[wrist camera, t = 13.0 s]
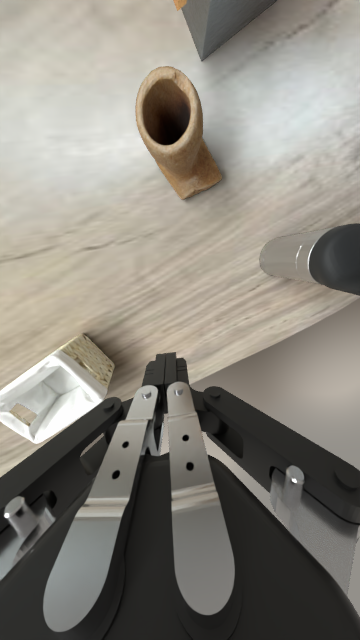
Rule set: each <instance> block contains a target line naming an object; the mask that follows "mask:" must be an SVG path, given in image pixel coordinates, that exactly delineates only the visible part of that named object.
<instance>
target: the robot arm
mask: <svg viewBox="0 0 360 640" xmlns="http://www.w3.org/2000/svg"><path fill="white" fill-rule="evenodd" d="M260 266H261V268H262V270H263V271H264V272H265V273H267V274H269V275H272V276H278V277H283V278H288V279H294V280H300V281H305V282H311V283H317V284H322V285H326V286H327V287H329V288H332V289H335V290H340V291H344V292H348V293H352V294H356V295H359V296H360V224H357V223H356V224H348V225H343V226H338V227H332V228H327V229H322V230H317V231H311V232H306V233H301V234H295V235H290V236H284V237H279V238H275V239H273V240H271V241H269V242H268V243H267V244H266V245H265V246H264V248H263V249H262V251H261V254H260ZM166 413H168V434H169V452H168V453H166V454H164V455H161V456H160V451H161V443H162V437H163V429H164V422H163V421H164V414H166ZM201 431H203V432H206V434H207V436H208V437H209V438H210V439H211V440H212V441H213V442H214V443H215V444H216V445H217V446H219V447H220V448H221V449H222V450H223V451H224V452H225V453H226V454H227V455H229V456H230V457H231V458H232V459H233V460H234V461H235V462H236V463H237V464H238V465H239V466H241V467H242V468H243V469H244V470H245V471H246V472H247V473H248V474H249V475H250V476H252V477H253V478H254V479H255V480H256V481H257V482H258V483H259V484H260V485H261V486H263V487H264V488H265V489H266V490H267V491H268V492H269V493H270V500H271V504H272V507H273V509H274V511H275V513H276V514H277V516H278V517H279V518H280V519H281V520H282V522H283V523H284V524H285V526H286V527H287V529H288V530H289V531H288V530H287V529H286V528H285V527H284V525H282V523H281V522H280V521H279V520H278V519H277V518H276V517H275V516H274V515H273V514H272V513H271V512H270V511H269V510H268V509H267V508H266V507H265V506H264V505H263V504H262V503H261V502H260V501H259V500H258V499H257V497H256V496H255V495H254V494H253V493H252V492H250V490H249V489H248V488H247V487H246V486H245V485H244V484H243V483H242V482H241V481H240V480H239V479H238V478H237V477H236V476H235V475H234V474H233V473H232V472H231V471H230V469H228V467H226V466H225V465H224V464H223V463H222V462H221V461H219V460H218V459H216V458H214V457H212V456H210V455H207V452H206V448H205V444H204V440H203V436H202V432H201ZM102 433H103V434H104V436H103V437H102V438H101V439H100V440H99V441H98V442H97V443H96V444H94V445H93V446H92V447H91V448H90V449H89V450H88V451H87V452H86V453H85V454H84V455H82V456H81V457H80V455H81V453H82V451H83V450H84V449H85V448H86V447H87V446H88V445H89V444H90V443H92V442H93V441H94V440H95V439H96V438H97V437H98V436H99V435H101V434H102ZM359 537H360V471H359V470H358V469H356V468H355V467H354V466H352V465H350V464H349V463H347V462H346V461H344V460H342V459H341V458H339V457H337V456H335V455H334V454H332V453H330V452H328V451H327V450H325V449H324V448H322V447H320V446H319V445H317V444H315V443H313V442H312V441H310V440H308V439H307V438H305V437H303V436H302V435H300V434H298V433H297V432H295V431H293V430H291V429H290V428H288V427H287V426H285V425H283V424H281V423H280V422H278V421H276V420H275V419H273V418H271V417H269V416H268V415H266V414H265V413H263V412H261V411H260V410H258V409H256V408H254V407H253V406H251V405H249V404H248V403H246V402H244V401H243V400H241V399H239V398H238V397H236V396H234V395H233V394H231V393H229V392H227V391H226V390H224V389H222V388H220V387H215V386H213V387H209V388H207V389H205V390H204V392H198V391H195V390H193V389H192V388H191V387H190V385H189V380H188V372H187V365H186V361H185V360H184V358H176V352H173V353H164V354H157V355H156V360H155V361H150V362H149V364H148V365H147V366H146V371H145V375H144V379H143V383H142V387H141V388H140V389H138V390H137V392H136V393H135V396H134V398H132V399H129V400H127V401H124V402H121V400H120V399H119V398H117V397H112V398H108V399H106V400H104V401H102V402H101V403H100V404H98V405H97V406H96V407H94V408H93V409H92V410H90V411H89V412H88V413H86V414H85V415H84V416H82V417H81V418H80V419H78V420H77V421H76V422H74V423H73V424H72V425H70V426H69V427H67V428H66V429H65V430H63V431H62V432H61V433H59V434H58V435H57V436H55V437H54V438H53V439H51V440H50V441H49V442H47V443H46V444H45V445H43V446H42V447H41V448H39V449H38V450H37V451H35V452H34V453H33V454H31V455H30V456H29V457H27V458H26V459H25V460H23V461H22V462H21V463H19V464H18V465H17V466H15V467H14V468H12V469H11V470H10V471H8V472H7V473H6V474H4V475H3V476H2V477H0V640H360V617H359V615H358V614H357V612H356V610H355V609H354V607H353V605H352V603H351V602H350V600H349V599H348V597H347V593H348V587H349V581H350V575H351V569H352V563H353V557H354V551H355V545H356V543H357V541H358V539H359Z"/></svg>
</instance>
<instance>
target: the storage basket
mask: <svg viewBox="0 0 360 640" xmlns="http://www.w3.org/2000/svg"><path fill="white" fill-rule="evenodd" d="M114 368H115V365H114V363H113V362H112V361H111V360H110V359H109V358H108V357H107V356H106V355H105V354H104V353H103V352H102V351H101V350H100V349H99V348H98V347H97V346H96V345H95V344H94V343H93V342H92V341H91V340H90V339H89V338H88V337H87V336H85V335H84V334H80V335H78V336H77V337H75V338H73V339H71V340H70V341H69V342H67V343H66V344H65V345H63V346H61V347H60V348H58V349H57V350H56V351H54V352H53V353H51V354H50V355H48V356H47V357H46V358H44V359H43V360H42V361H40V362H39V363H38V364H36V365H35V366H33V367H32V368H31V369H29V370H28V371H27V372H25V373H24V374H22V375H21V376H20V377H18V378H17V379H16V380H14V381H13V382H12V383H10V384H9V385H8V386H6V387H5V388H4V389H2V390H1V391H0V421H1V422H2V423H3V424H5V425H6V426H8V427H9V428H11V429H13V430H14V431H15V432H17V433H19V434H20V435H22V436H23V437H25V438H27V439H29V440H31V441H32V442H34V443H40V442H42V441H44V440H46V439H47V438H49V437H51V436H52V435H54V434H55V433H57V432H59V431H60V430H62V429H63V428H65V427H66V426H68V425H69V424H71V423H72V422H74V421H75V420H77V419H78V418H80V417H81V416H83V415H84V414H86V413H87V412H89V411H90V410H92V409H93V408H94V407H96V406H97V405H98V404H100V403H101V402H102V401H103V400H104V398H105V396H106V394H107V390H108V386H109V383H110V380H111V377H112V374H113V370H114ZM16 404H20V405H22V406H24V407H26V408H27V409H29V410H31V411H33V412H34V413H36V414H37V416H36V418H35V419H34V420H33V421H32V423H31V424H30V423H28V422H27V421H26V420H25V419H22V418H21V417H20V416H18V414H16V413H14V412H13V411H11V409H12V408H13V407H14V406H15V405H16Z"/></svg>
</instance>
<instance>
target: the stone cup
mask: <svg viewBox="0 0 360 640" xmlns="http://www.w3.org/2000/svg"><path fill="white" fill-rule="evenodd" d="M136 122H137V126H138V130H139V132H140V135H141V137H142V139H143V142H144V144H145V145H146V147H147V149H148V150H149V152H150V153H151V155H152V156H153V157H154V159H155V161H156V163H157V164H158V166H159V168H160V169H161V171H162V173H163V174H164V176H165V177H166V178H167V180H168V181H169V183H170V184H171V186H172V187H173V188H174V190H175V191H176V193H177V194H178V196H179V197H180V198H181V199H182V200H184V199H185V198H188V197H192V196H193V195H195V194H198V193H199V192H201V191H204V190H207V189H209V188H210V187H212V186H213V185H215V184H216V183H218V182H219V181H220V180H221V179H222V176H221V174H220V171H219V169H218V167H217V165H216V163H215V161H214V159H213V158H212V156H211V154H210V152H209V151H208V149H207V146H206V145H205V143H204V141H203V139H202V134H203V113H202V107H201V102H200V99H199V96H198V93H197V91H196V89H195V87H194V86H193V84H192V83H191V81H190V80H189V79H188V78H187V76H186V75H185V74H183V73H182V72H181V71H180V70H177V69H175V68H173V67H169V66H165V67H158V68H156V69H155V70H153V71H151V72H150V73H149V75H148V76H147V77H146V78H145V79H144V81H143V82H142V84H141V86H140V88H139V92H138V95H137V99H136Z"/></svg>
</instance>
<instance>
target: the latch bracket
mask: <svg viewBox="0 0 360 640" xmlns="http://www.w3.org/2000/svg"><path fill="white" fill-rule="evenodd" d="M276 1H277V0H187V3H186V4H185V5H184V6H183V7H182V8H181V9H182V11H183V14H184V17H185V19H186V22H187V25H188V27H189V30H190V32H191V35H192V38H193V40H194V43H195V46H196V48H197V51H198V54H199V56H200V59H201V61H202V60H204V59H205V58H206V57H207V56H209V55H210V54H211V53H212V52H214V51H215V50H216V49H217V48H219V47H220V46H221V45H222V44H224V43H225V42H226V41H227V40H228V39H230V38H231V37H232V36H233V35H235V34H236V33H237V32H238V31H240V30H241V29H242V28H243V27H245V26H246V25H247V24H248V23H250V22H251V21H252V20H253V19H255V18H256V17H257V16H258V15H259V14H261V13H262V12H263V11H264V10H266V9H267V8H268V7H269V6H271V5H272V4H273V3H274V2H276Z"/></svg>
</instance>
